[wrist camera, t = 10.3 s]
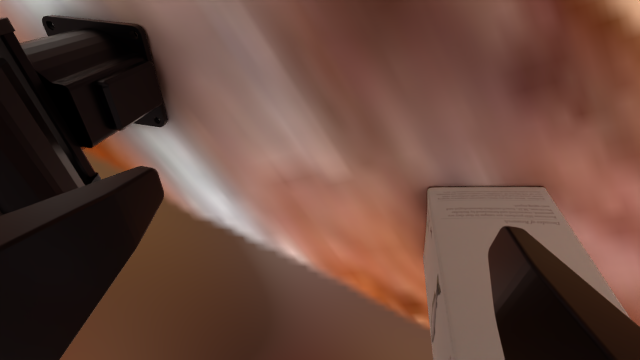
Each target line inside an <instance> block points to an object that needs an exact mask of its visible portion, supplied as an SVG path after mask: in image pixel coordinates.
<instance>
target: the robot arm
mask: <svg viewBox="0 0 640 360" xmlns="http://www.w3.org/2000/svg"><path fill="white" fill-rule="evenodd" d="M42 22H43V26H44V28H45V30H46V32H47V35H48V37H44V38H40V39H36V40H31V41H27V42H23V43H19V41H18V40H17V38H16V36H15V35H14V33H13V32H14V31H15V30H14V28H13V26H12V25H11V23H10V21H9V19H8V18H0V360H60V358H61V357H62V355H63V354H64V352H65V351H66V349H67V348H68V347H69V345H70V344H71V342H72V341H73V339H74V338H75V336H76V335H77V334H78V332H79V331H80V329H81V328H82V326H83V325H84V323H85V322H86V320H87V319H88V317H89V316H90V315H91V313H92V312H93V310H94V309H95V307H96V306H97V304H98V303H99V302H100V300H101V299H102V297H103V296H104V294H105V293H106V291H107V290H108V288H109V287H110V286H111V284H112V283H113V281H114V280H115V278H116V277H117V275H118V274H119V273H120V271H121V270H122V268H123V267H124V265H125V264H126V262H127V261H128V259H129V258H130V257H131V255H132V254H133V252H134V251H135V249H136V248H137V246H138V244H139V242H140V241H141V239H142V237H143V235H144V234H145V232H146V230H147V228H148V226H149V224H150V223H151V221H152V219H153V217H154V215H155V213H156V211H157V210H158V208H159V206H160V204H161V203H162V200H163V197H164V191H163V187H162V184H161V181H160V178H159V175H158V172H157V171H156V170H155V169H154V168H149V167H143V166H139V167H136V168H133V169H130V170H127V171H124V172H122V173H119V174H116V175H113V176H110V177H108V178H105V179H102V180H101V178H100V176H99V174H98V173H96V172H95V171H94V170H93V168H92V166H91V164H90V163H89V161H88V159H87V157H86V156H85V154H84V152H83V151H82V150H83V149H85V148H86V147H87V148H92V147H94V146H95V145H97V144H99V143H100V142H102V141H103V140H105V139H106V138H108V137H109V136H111V135H112V134H114V133H116V132H117V131H121V130H123V129H125V128H126V127H128V126H129V125H131V124H132V123H135V124H142V125H149V126H155V127H162V126H164V125H165V124H166V123H167V116H166V112H165V108H164V104H163V99H162V95H161V91H160V88H159V84H158V80H157V76H156V72H155V68H154V65H153V61H152V57H151V53H150V49H149V45H148V41H147V38H146V34H145V31H144V30H143V29H142V27H140V26H139V25H136V24H129V23H120V22H111V21H102V20H93V19H83V18H74V17H65V16H56V15H50V16H44V17H43V18H42ZM52 23H53V24H52ZM53 25H54V26H53ZM134 31H135V32H136V33H137V35H138V37H136V36H135V34H134ZM158 118H159V119H160V120H161V121H159V120H158ZM488 263H489V272H490V281H491V289H492V298H493V307H494V314H495V319H496V324H497V328H498V333H499V337H500V341H501V345H502V350H503V354H504V358H505V360H640V326H638V325H637V324H636V323H635V322H634V321H632V320H631V319H630V318H629V317H628V316H626V315H625V314H624V313H623V312H622V311H621V310H619V309H618V308H617V307H616V306H615V305H613V304H612V303H611V302H610V301H609V300H607V299H606V298H605V297H604V296H603V295H601V294H600V293H599V292H598V291H597V290H596V289H594V288H593V287H592V286H591V285H590V284H588V283H587V282H586V281H585V280H584V279H582V278H581V277H580V276H579V275H578V274H577V273H575V272H574V271H573V270H572V269H571V268H569V267H568V266H567V265H566V264H565V263H563V262H562V261H561V260H560V259H559V258H558V257H556V256H555V255H554V254H553V253H552V252H550V251H549V250H548V249H547V248H546V247H544V246H543V245H542V244H541V243H540V242H539V241H537V240H536V239H535V238H534V237H533V236H531V235H530V234H529V233H528V232H527V231H525V230H524V229H522V228H518V227H512V226H503V227H502V228H501V229H500V230H499V232H498V234H497V235H496V237H495V239H494V241H493V242H492V244H491V246H490V248H489V251H488Z"/></svg>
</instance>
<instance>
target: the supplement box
mask: <svg viewBox="0 0 640 360" xmlns="http://www.w3.org/2000/svg"><path fill="white" fill-rule="evenodd" d="M503 226H512V227H518V228H522V229H524V230H525V231H527V232H528V233H529V234H530V235H531V236H533V237H534V238H535V239H536V240H537V241H539V242H540V243H541V244H542V245H543V246H544V247H546V248H547V249H548V250H549V251H550V252H552V253H553V254H554V255H555V256H556V257H558V258H559V259H560V260H561V261H562V262H563V263H565V264H566V265H567V266H568V267H569V268H571V269H572V270H573V271H574V272H575V273H577V274H578V275H579V276H580V277H581V278H582V279H584V280H585V281H586V282H587V283H588V284H590V285H591V286H592V287H593V288H594V289H596V290H597V291H598V292H599V293H600V294H601V295H603V296H604V297H605V298H606V299H607V300H609V301H610V302H611V303H612V304H613V305H615V306H616V307H617V308H618V309H619V310H621V311H622V312H623V313H624V314H625V315H626V316H628V314H627V313H626V311H625V310H624V308H623V307H622V305H621V304H620V302H619V301H618V299H617V297H616V296H615V294H614V293H613V291H612V290H611V288H610V287H609V285H608V284H607V282H606V281H605V279H604V277H603V276H602V274H601V273H600V271H599V270H598V268H597V267H596V265H595V264H594V262H593V260H592V259H591V257H590V256H589V255H588V253H587V252H586V250H585V248H584V247H583V245H582V244H581V242H580V241H579V239H578V238H577V236H576V235H575V233H574V232H573V230H572V229H571V227H570V225H569V224H568V222H567V221H566V219H565V218H564V216H563V215H562V213H561V212H560V210H559V209H558V207H557V205H556V204H555V203H554V201H553V199H552V198H551V196H550V195H549V193H548V192H547V190H546V188H544V187H434V188H429V189H428V190H427V222H426V235H425V246H424V253H423V262H424V272H425V282H426V292H427V302H428V312H429V322H430V332H431V341H432V350H433V359H434V360H505V358H504V354H503V350H502V345H501V341H500V337H499V333H498V328H497V324H496V319H495V314H494V307H493V298H492V289H491V281H490V272H489V263H488V251H489V248H490V246H491V244H492V242H493V241H494V239H495V237H496V235H497V234H498V232H499V230H500V229H501V228H502V227H503ZM628 317H629V316H628ZM629 318H630V317H629Z"/></svg>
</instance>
